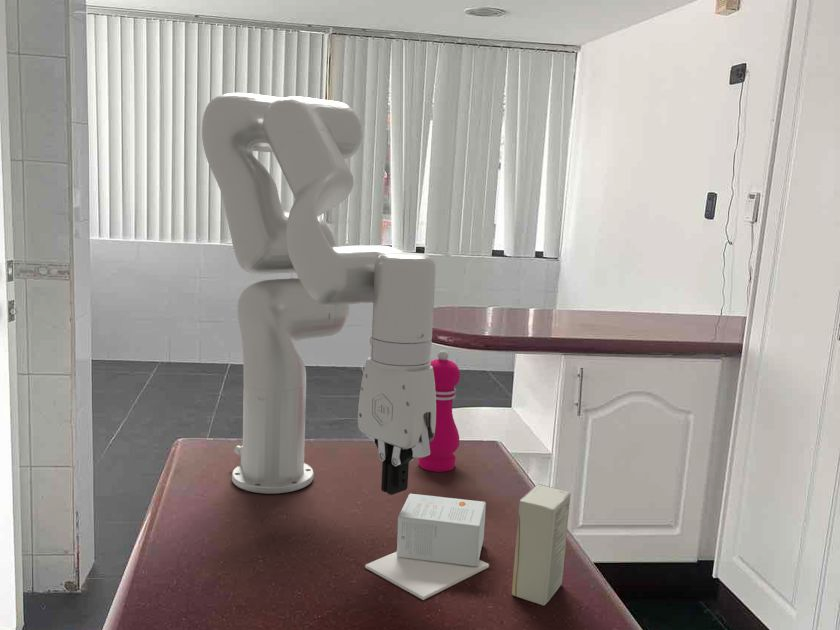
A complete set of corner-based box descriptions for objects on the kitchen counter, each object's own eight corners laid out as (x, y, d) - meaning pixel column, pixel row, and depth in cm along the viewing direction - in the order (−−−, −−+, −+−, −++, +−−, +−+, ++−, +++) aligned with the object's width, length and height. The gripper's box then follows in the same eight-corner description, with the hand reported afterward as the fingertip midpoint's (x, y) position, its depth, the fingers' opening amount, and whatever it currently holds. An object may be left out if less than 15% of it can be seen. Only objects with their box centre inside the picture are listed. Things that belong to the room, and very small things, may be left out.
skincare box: (529, 574, 98) (537, 482, 96) (563, 585, 96) (572, 490, 94) (510, 596, 93) (517, 499, 91) (545, 608, 91) (554, 508, 89)
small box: (394, 557, 100) (477, 568, 98) (397, 515, 99) (480, 526, 97) (407, 530, 108) (484, 540, 106) (409, 492, 107) (486, 501, 105)
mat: (365, 567, 98) (365, 564, 98) (431, 539, 107) (431, 536, 107) (423, 600, 91) (423, 596, 91) (488, 567, 100) (489, 564, 100)
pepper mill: (410, 459, 136) (416, 346, 133) (449, 456, 139) (456, 345, 135) (422, 474, 130) (429, 355, 126) (464, 471, 132) (471, 354, 128)
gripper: (339, 344, 101) (334, 480, 104) (423, 368, 91) (415, 517, 94) (382, 338, 107) (376, 467, 110) (466, 359, 96) (457, 501, 100)
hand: (394, 490), depth 102 cm, fingers closed
